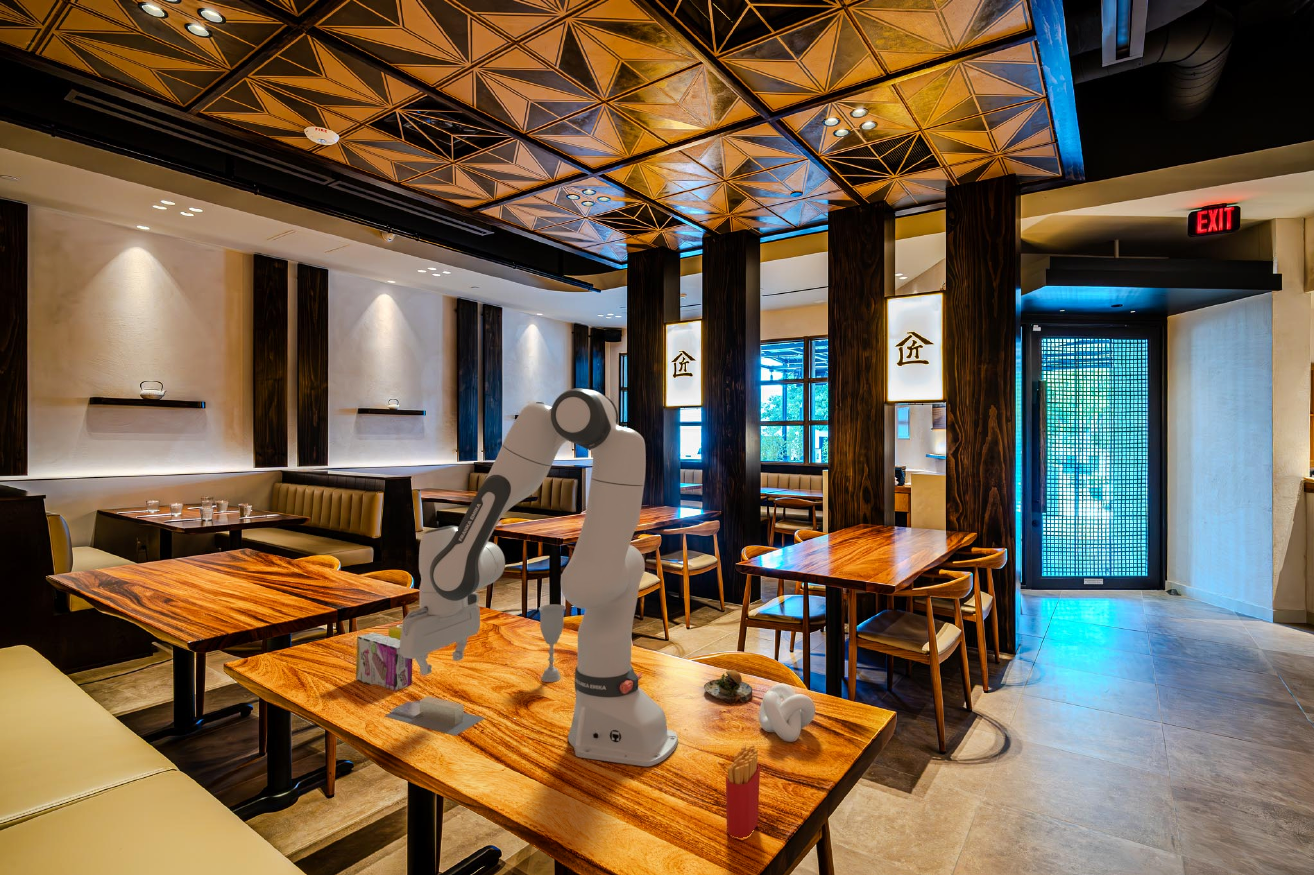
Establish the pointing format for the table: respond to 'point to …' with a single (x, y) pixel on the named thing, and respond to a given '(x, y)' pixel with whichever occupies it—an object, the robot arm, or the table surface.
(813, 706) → the white knot sculpture
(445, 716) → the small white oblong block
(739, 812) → the french fries
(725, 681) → the burger
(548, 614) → the chalice
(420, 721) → the plate
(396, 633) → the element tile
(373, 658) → the candy bar box
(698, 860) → the table surface
